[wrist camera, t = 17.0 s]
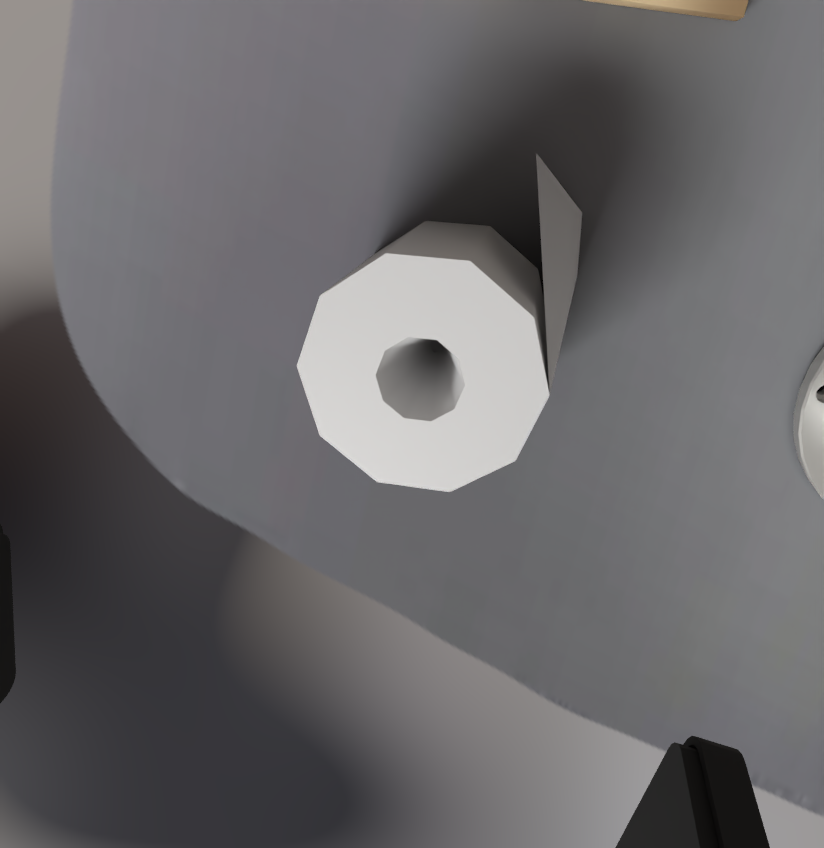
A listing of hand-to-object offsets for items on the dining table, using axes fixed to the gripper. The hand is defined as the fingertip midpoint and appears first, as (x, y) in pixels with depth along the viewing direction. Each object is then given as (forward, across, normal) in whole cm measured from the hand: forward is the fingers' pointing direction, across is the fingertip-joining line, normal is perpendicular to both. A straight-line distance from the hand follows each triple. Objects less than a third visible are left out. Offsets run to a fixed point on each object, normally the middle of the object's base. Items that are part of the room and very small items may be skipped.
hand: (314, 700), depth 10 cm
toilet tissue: (+26, +1, +1) cm, 26 cm away
